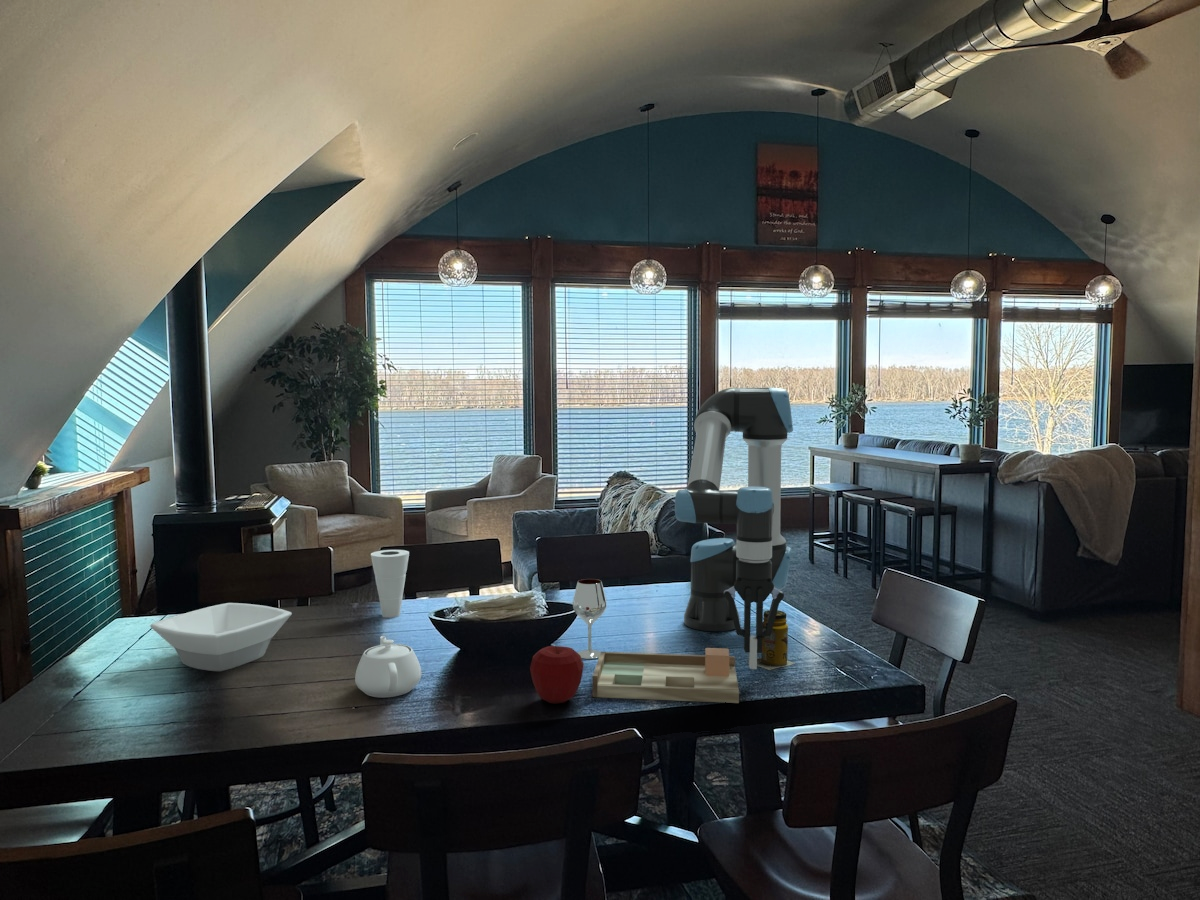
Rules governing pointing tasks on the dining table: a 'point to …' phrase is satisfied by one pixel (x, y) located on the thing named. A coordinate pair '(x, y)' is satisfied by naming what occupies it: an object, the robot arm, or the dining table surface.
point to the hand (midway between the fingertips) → (752, 666)
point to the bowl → (222, 634)
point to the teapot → (388, 670)
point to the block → (716, 662)
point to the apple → (556, 673)
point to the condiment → (775, 644)
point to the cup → (390, 579)
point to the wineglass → (589, 608)
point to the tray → (662, 678)
